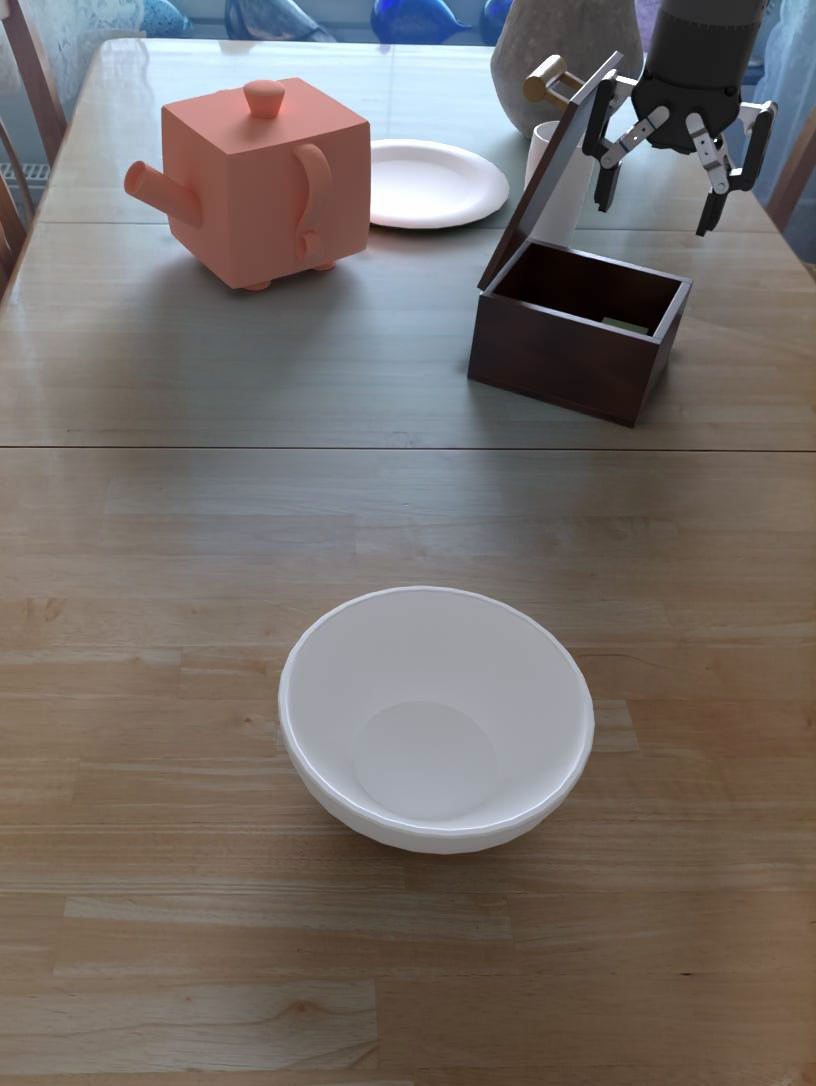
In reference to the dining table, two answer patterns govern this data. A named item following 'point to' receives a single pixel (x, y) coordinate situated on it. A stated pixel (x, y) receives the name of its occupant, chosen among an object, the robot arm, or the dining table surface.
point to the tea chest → (576, 330)
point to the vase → (561, 50)
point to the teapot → (262, 180)
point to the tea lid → (548, 150)
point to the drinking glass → (559, 189)
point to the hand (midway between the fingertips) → (652, 220)
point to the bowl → (435, 718)
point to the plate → (432, 186)
